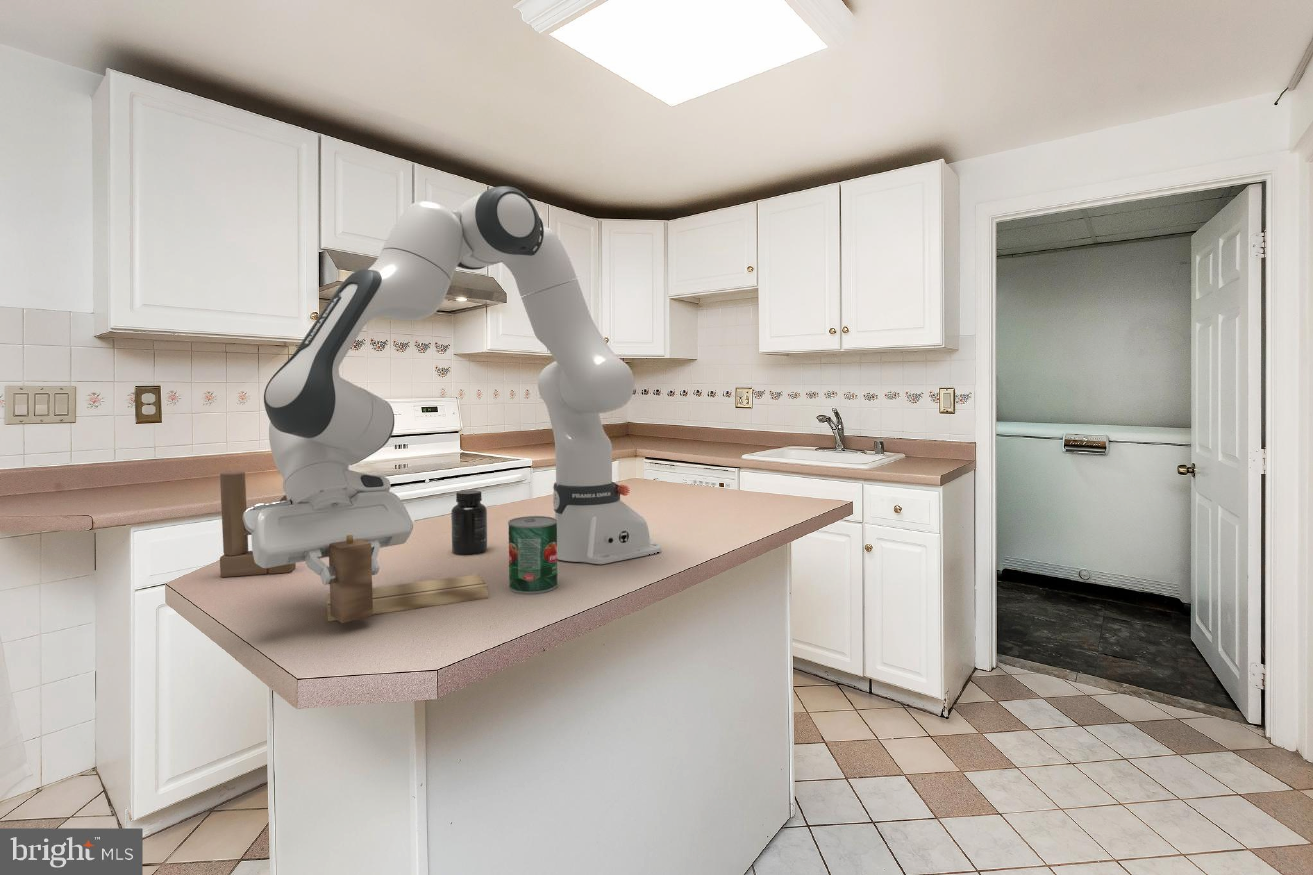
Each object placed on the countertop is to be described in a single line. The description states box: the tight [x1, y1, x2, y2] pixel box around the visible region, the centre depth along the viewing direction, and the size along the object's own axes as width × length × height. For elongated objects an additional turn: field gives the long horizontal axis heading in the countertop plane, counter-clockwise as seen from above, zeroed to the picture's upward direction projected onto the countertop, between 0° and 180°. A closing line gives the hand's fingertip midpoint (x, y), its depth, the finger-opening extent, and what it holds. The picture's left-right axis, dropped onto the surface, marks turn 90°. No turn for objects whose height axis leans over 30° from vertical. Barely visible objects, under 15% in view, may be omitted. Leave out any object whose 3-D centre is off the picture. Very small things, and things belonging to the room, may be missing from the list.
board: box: [326, 574, 489, 622], centre depth 94 cm, size 22×6×2 cm, turn 117°
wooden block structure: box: [219, 470, 297, 578], centre depth 108 cm, size 4×11×18 cm, turn 107°
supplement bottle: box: [450, 489, 488, 556], centre depth 124 cm, size 7×7×12 cm
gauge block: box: [328, 535, 373, 624], centre depth 84 cm, size 4×4×11 cm
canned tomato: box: [507, 515, 559, 595], centre depth 101 cm, size 8×8×11 cm
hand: (352, 577), depth 83 cm, fingers closed on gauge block, 4 cm apart
